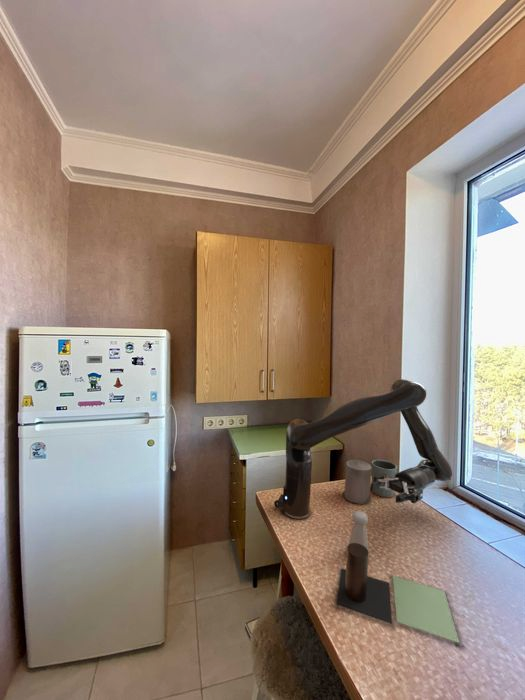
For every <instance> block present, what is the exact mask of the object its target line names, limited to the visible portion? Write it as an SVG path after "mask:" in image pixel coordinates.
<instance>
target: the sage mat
mask: <svg viewBox="0 0 525 700" xmlns="http://www.w3.org/2000/svg"><path fill="white" fill-rule="evenodd" d="M392 584H393V596H394V606H395V608H394V609H395V618H396V623H399V624H402V625H404V626H408V627H411V628H414V629H416V630H418V631H419V630H420V631H422V632H425V633H428V634H431V635H434V636H437V637H440V638H443V639H446V640H448V641H450V642H453V643H454V645H456V646H460V639H459V636H458V633H457V629H456V626H455V623H454V619H453V616H452V613H451V608H450V606H449V602H448V599H447V595H446V591H445V590H444V589H443V590H442V589H439V588H437V587H436V588H435V587H432V586H429V585H426V584H423V583H418V582H416V581H412V580H409V579H405V578H402V577H397V576H395V575H392Z"/></svg>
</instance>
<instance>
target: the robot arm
mask: <svg viewBox="0 0 525 700" xmlns="http://www.w3.org/2000/svg"><path fill="white" fill-rule="evenodd" d="M426 398H427V390H426V388H425V387H424V386H423V385H422V384H420V383H418V382H416V381H414V380H413V381H412V380H409V379H404V378H401V379H396V380H395V381H393V383H392V384H391V386H390V392H388V393H385V394H381V395H374V396H365V397H361V398H357V399H355V400H354V399H353V400H351V401H349V402H346V403H344V404H341V405H340V406H338V407H337V408H335V409H334V410H332V411H331V412H330V413H329V414H328V415H326V416H325V417H323V418H321V419H318V420H315V421H311V422H307V421H306V420H304V419H301V418H297V419H294V420H292V421H290V422H289V423H288V426H287V427H286V433H285V435H286V436H285V478H284V479H285V482H284V485H283V489H282V490H283V491H282V494H280V496H279V497H278V499H276V500H275V501H274V502H273V505H274V507H275V508H276V509H277V508H278V509H281V510H282V511H281V513H282V514H285V515H286V516H287V517H289V518H291V519H296V520H302V519H306V518H308V517H309V516H310V515H311V514H310V513H311V510H310V509H311V489H312V488H311V487H312V486H311V485H312V468H313V467H312V465H313V459H312V452H311V449H312V448H313V447H315V446H317V445H319V444H321V443H323V442H325V441H327V440H329V439H332V438H334V437H336V436H340V435H341V434H344V433H347V432H349V431H353V430H355V429H358V428H360V427H363V426H365V425H368V424H371V423H372V422H375V421H378V420H380V419H383V418H385V417H388V416H390V415H392V414H396V413H399V412H400V413H401V416H402V417H403V419H404V421H405V423H406V425H407V427H408V429H409V433H410V435H411V437H412V440H413V442H414V445H415V448H416V450H417V453H418V455H419V456H420V457H421V458H422V460H420V461H419V462H418V464H417V465H416V466H413V467H409V468H406V469H403V470H401V471H399V472H396V475H395V477H391V478H388V477H386V474H380V475H377V476H374V480H373V483H372V482H370V491H372V490H373V491H374V490H376V489H379V488H385V489H386V490H394V492H396V493H398V494H396V495H395V503H397V504H400V503H401V504H402V503H404V502H409V501H410V503H412V504H417V503H418V502H419V501H421V500H422V499H423V498H424V497H423V496H424V490H425V489H426V488H428V487H429V486H432V485H433V484H434V483H435V482H436V481H438V482H443V483H448V482H450V481H451V480H452V479H453V469H452V467H451V464H450V463H449V462H448V460H447V459H446V457H445V455H444V454H443V453H442V452H441V450H440V449H439V446H438V443H437V440H436V439H435V436H434V433H433V431H432V429H431V428H430V426H429V425H428V423H427V422H426V420H425V419H424V418H423V416H422V415H421V413H420V410H419V408H418V407H419V406H421V405H422V404H423V403H424V402H425V400H426ZM387 482H389V487H387ZM381 483H384V485H381ZM373 491H372V492H373Z"/></svg>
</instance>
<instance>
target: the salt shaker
mask: <svg viewBox="0 0 525 700" xmlns="http://www.w3.org/2000/svg"><path fill="white" fill-rule="evenodd" d="M351 516H352V517H351V518H352V522H353V526H352V529H351V533H350V536H349V541H348V545H349V544H351V543H358V544H361V545H363V546H364V547H366V548H367V550H368V552H369V553H370V549H369V541H368V540H369V539H368V535H367V524H368V523H369V517H368V515H367V514H366V513H365V512H364V511H361V510H355V511H354V512H352V514H351ZM348 545H347V546H348Z"/></svg>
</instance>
